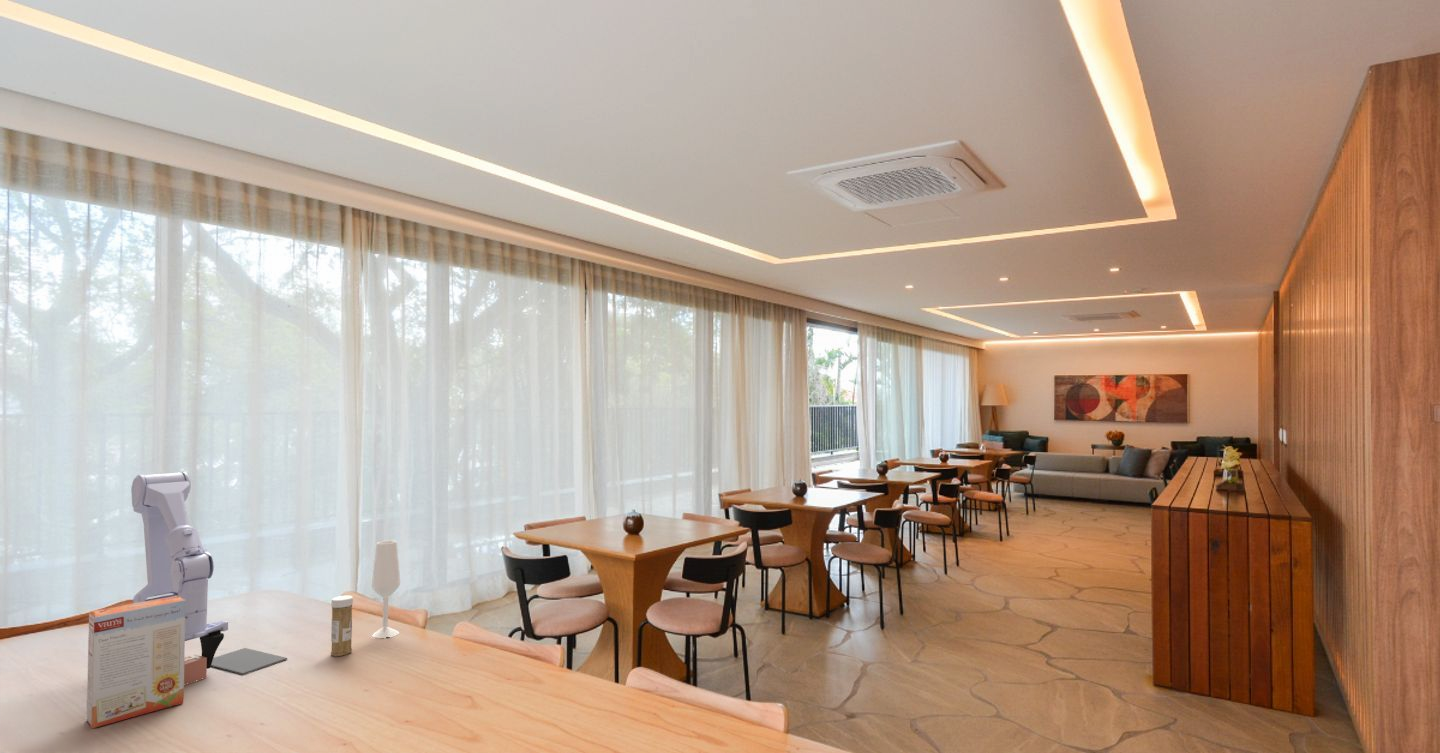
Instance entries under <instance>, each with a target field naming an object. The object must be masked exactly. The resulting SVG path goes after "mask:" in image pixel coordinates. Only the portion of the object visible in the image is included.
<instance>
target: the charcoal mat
mask: <svg viewBox="0 0 1440 753" xmlns="http://www.w3.org/2000/svg"><path fill="white" fill-rule="evenodd" d="M286 659H287V660H288V657H285V656H280V655H276V654H272V653H270V652H269V653H268V652H263V651H259V650H255V649H251V648H247V647H244V648H240V649H237V650H234V651H231V652H228V653H223V654H221V655H218V656H214V658H213V661H212V664H211V666H213V667H212V668H214V667H218V668H221V669H220V670H222V669H225V670H224V671H226V670H228V671H227V672H230V671H231V673H233V672H235V673H234V674H237V673H238V675H242V676H243V675H246V674H250V673H252V672H255V670H256V671H258V669H259V670H261V669H265V668H267V667H270V666H272V664H273V665H275V663H276V664H279V663H281V661H282V662H284V660H285V661H286ZM278 662H279V663H278ZM269 665H270V666H269ZM266 666H267V667H266ZM218 668H217V669H218ZM249 672H250V673H249Z"/></svg>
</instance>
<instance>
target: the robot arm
mask: <svg viewBox="0 0 1440 753" xmlns="http://www.w3.org/2000/svg"><path fill="white" fill-rule="evenodd" d="M131 483H132V485H131V490H130V491H131V492H130V493H131V504H132V505H131V506H132V509H133V512H134V513H137V514H140V515H141V517H142V523H143V534H144V545H145V546H144V547H145V549H144V550H145V563H146V575H147V578H146V579H147V584H146V585H145V586H144V587H143V588H142V589H140V590H139V591H138V592H136V594H135V595H134V597H133V598H132V604H134V603H140V602H145V601H151V600H157V599H162V598H168V597H173V596H179V597H181V598H182V599H184V600H185V642H187V641H191V640H195V639H198V638H199V642H200V646H201V649H200V650H201V656H203V657H206V658H207V670H208V669H211V664H212V661H213V658H214V657H215V655H216V652H217V650H218V648H219V646H220V645H221V643H222V642H223V640H224V637H225V634H224V633H222V632H226V631H229V621H227V620H219V621H215V622H211V623H208V592H209V590H208V588H209V579H210V578H212V576H213V574H214V568H215V566H214V559H213V556H212V554H211V553H210V552H208V550H207V548H204V547H203V544H202V541H201V538H200V535H199V532H198V530H197V528H196V527H193V526H191V525H190V524H189V518H188V512H187V507H186V502H185V501H187V499H188V496H189V494H190V492H191V487H192V485H191V484H192V483H191V478H190V474H188V473H187V472H186V471H180V472H172V473H171V472H170V473H169V472H168V473H156V474H154V473H153V474H138V475H136V476H135V477H134V479H133V481H132V482H131ZM185 657H186V656H184V658H185Z"/></svg>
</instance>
